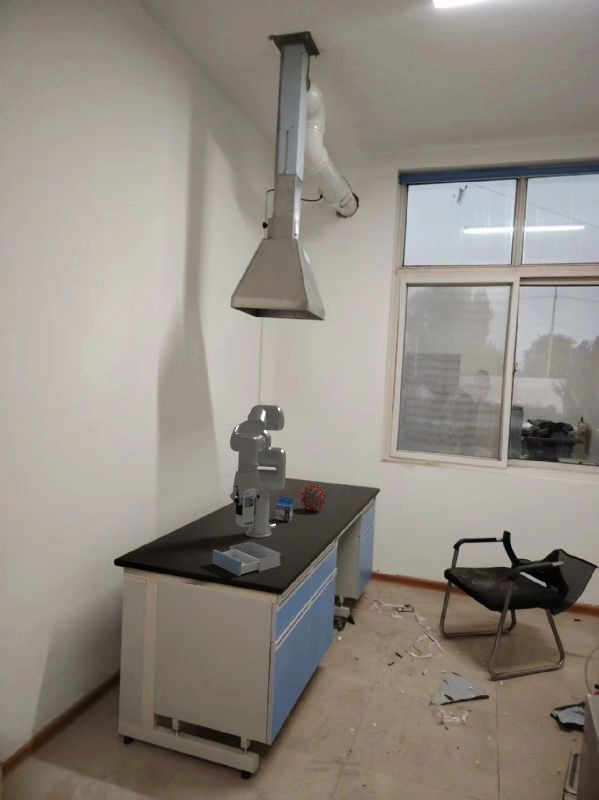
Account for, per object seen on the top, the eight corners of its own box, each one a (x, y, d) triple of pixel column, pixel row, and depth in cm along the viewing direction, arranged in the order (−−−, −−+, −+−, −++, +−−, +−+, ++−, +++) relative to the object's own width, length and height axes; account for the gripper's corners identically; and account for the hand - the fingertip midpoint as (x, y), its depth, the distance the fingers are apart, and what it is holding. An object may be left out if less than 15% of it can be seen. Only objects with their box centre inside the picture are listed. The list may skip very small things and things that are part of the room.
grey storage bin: (250, 552, 220) (250, 541, 220) (280, 565, 206) (281, 553, 206) (229, 558, 212) (229, 546, 212) (259, 571, 198) (260, 559, 198)
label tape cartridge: (274, 519, 274) (275, 497, 274) (278, 518, 277) (279, 495, 277) (289, 522, 270) (290, 499, 269) (292, 521, 273) (293, 498, 273)
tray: (235, 557, 212) (235, 544, 212) (261, 569, 200) (262, 555, 200) (212, 563, 204) (213, 549, 204) (239, 576, 192) (239, 561, 192)
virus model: (325, 508, 304) (327, 483, 303) (324, 515, 289) (325, 488, 288) (301, 507, 305) (302, 482, 305) (299, 513, 290) (300, 487, 290)
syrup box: (242, 527, 195) (244, 489, 195) (235, 523, 200) (236, 487, 199) (255, 525, 198) (257, 488, 198) (247, 521, 203) (249, 485, 203)
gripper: (258, 464, 207) (256, 508, 208) (223, 468, 195) (222, 514, 195) (270, 467, 202) (268, 512, 202) (235, 470, 190) (234, 518, 190)
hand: (245, 512), depth 199 cm, fingers closed on syrup box, 6 cm apart
